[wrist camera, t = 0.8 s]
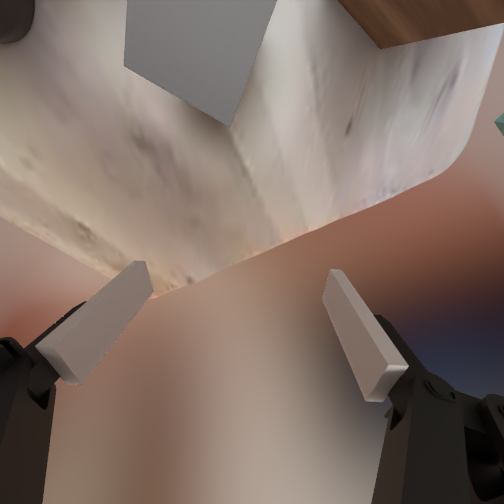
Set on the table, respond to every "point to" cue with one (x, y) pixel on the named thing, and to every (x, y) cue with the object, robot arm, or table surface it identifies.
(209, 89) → the block
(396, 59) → the table surface
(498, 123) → the bar
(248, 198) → the table surface
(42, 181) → the table surface
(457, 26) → the stand
